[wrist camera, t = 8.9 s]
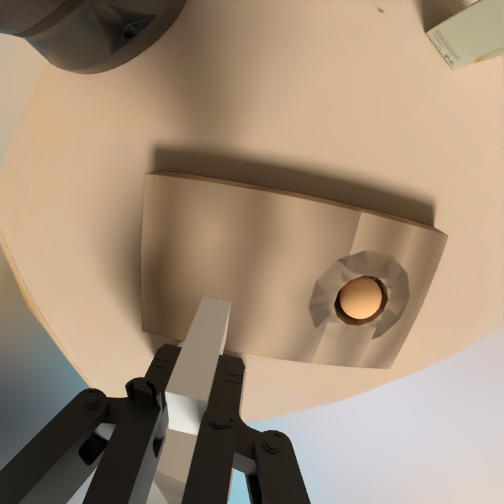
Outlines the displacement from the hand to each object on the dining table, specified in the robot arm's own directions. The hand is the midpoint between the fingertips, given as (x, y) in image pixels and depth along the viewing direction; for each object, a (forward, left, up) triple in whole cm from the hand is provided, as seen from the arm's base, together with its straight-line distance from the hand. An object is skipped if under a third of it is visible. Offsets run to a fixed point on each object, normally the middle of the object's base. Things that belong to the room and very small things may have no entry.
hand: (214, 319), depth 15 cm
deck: (+1, +5, -9) cm, 10 cm away
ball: (+1, +11, -7) cm, 13 cm away
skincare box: (-25, +16, -9) cm, 31 cm away
